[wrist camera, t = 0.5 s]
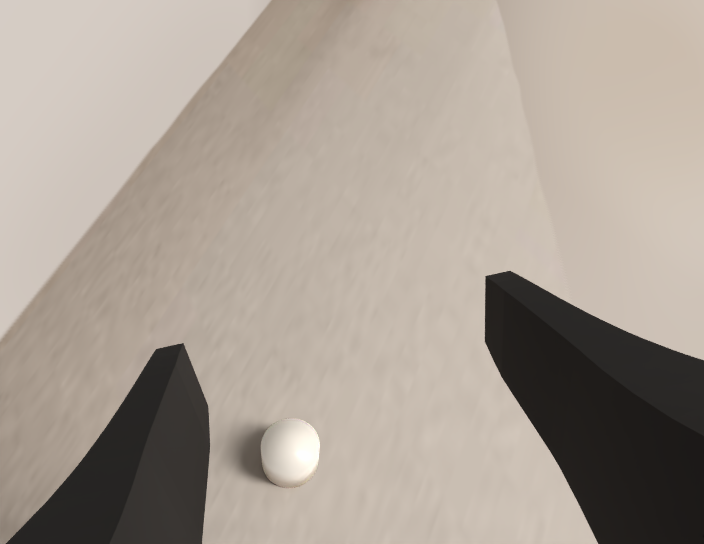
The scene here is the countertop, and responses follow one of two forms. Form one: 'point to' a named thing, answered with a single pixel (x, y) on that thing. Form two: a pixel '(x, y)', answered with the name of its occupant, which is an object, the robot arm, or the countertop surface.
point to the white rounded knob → (290, 452)
